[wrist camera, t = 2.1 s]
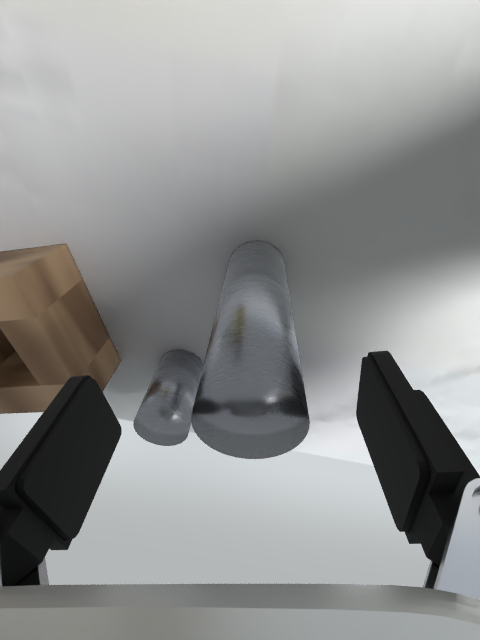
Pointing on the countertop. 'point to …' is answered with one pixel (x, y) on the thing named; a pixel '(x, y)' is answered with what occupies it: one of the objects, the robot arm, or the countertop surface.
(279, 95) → the countertop surface
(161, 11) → the countertop surface
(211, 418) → the long pin
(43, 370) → the hole block
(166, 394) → the short pin
